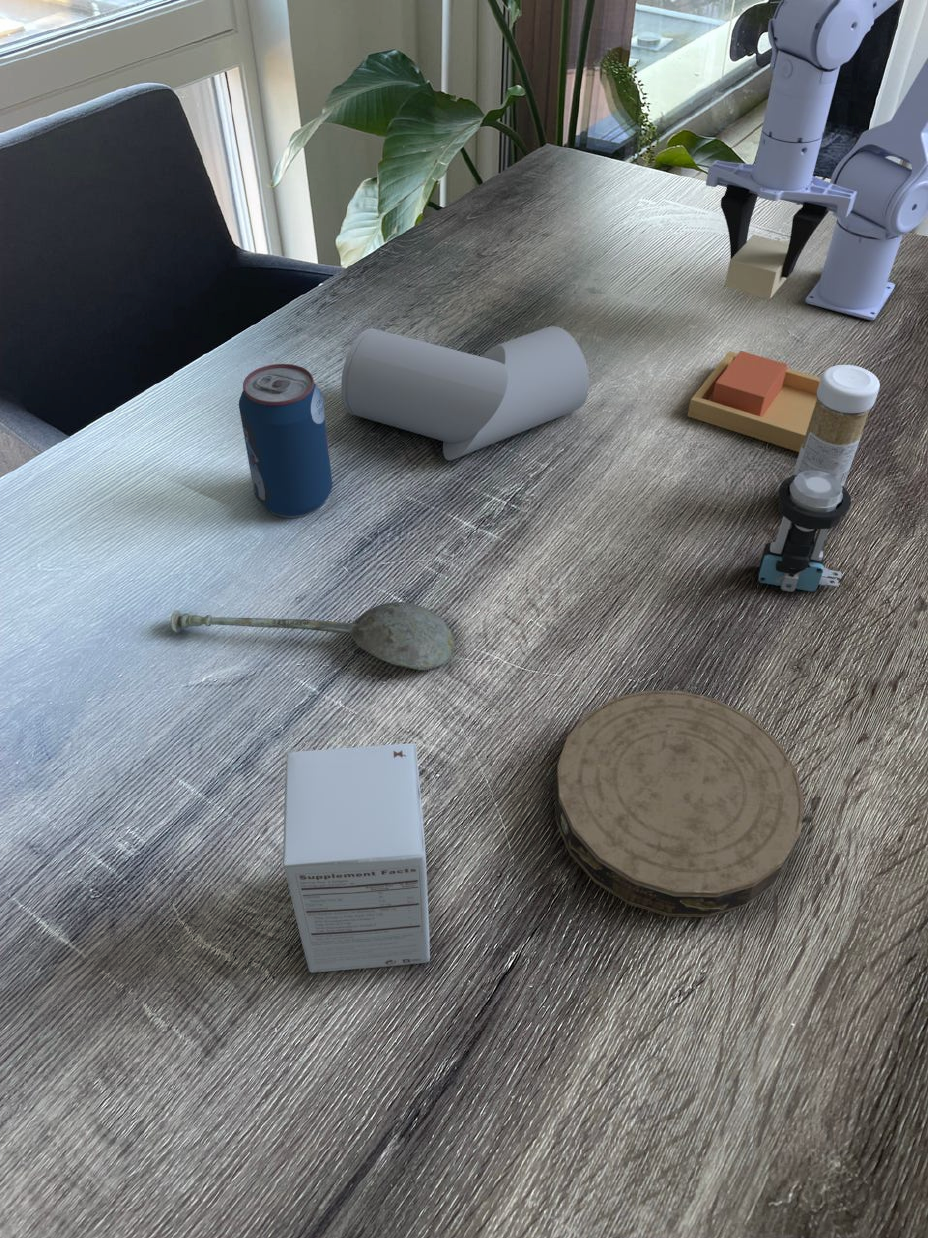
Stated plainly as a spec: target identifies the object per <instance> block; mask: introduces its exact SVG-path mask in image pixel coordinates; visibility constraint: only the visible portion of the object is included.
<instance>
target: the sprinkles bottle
mask: <svg viewBox="0 0 928 1238" xmlns="http://www.w3.org/2000/svg"><path fill="white" fill-rule="evenodd" d="M820 378H821V379H820V382H819V386H818V389H817V398H816V399H817V401H816V403H815V407H814V410H813V413H812V416H811V419H810V422H809V426H808V428H807V432H806V435H805V438H804V442H803V444H802V446H801V449H800V452H798V455H797V459H796V462H795V466H794V469H793V475H797V474H799V473H801V472H805V471H808V470H811V471H821V472H825V473H828V474H831V475H832V476H834V477H835V478H837V479H838V480H839V481H840V483H841V484H842V486H843V487H845V484H846V481H847V478H848V476H849V472H850V470H851V467H852V464H853V461H854V459H855V455H856V452H857V449H858V447H859V444H860V441H861V438H862V434H863V431H864V428H865V424H866V421H867V419H868V416H869V413H870V411H871V410H872V409H873V407H874V405H875V403H876V400H877V397H878V394H879V391H880V387H881V385H880V380H879V378H878V377H877V376H876V375H875V374H874V373H873V372H871V371H869V370H868V369H866V368H864V367H861V366H857V365H852V364H838V365H833V366H832V365H831V366H830V367H828V368H827V369H825V370H824V371H823V372H822V374H821V377H820Z"/></svg>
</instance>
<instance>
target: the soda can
mask: <svg viewBox="0 0 928 1238" xmlns="http://www.w3.org/2000/svg"><path fill="white" fill-rule="evenodd" d="M238 409H239V415H240V421H241V426H242V432H243V439H244V444H245V449H246V454H247V460H248V467H249V471H250V476H251V477H250V478H251V483H252V488H253V494H254V496H255V498H256V499H257V501H258V502H259V503H260V504H261V505H262V506H263V507H264V508H265V509H266V510H267V511H268V512H270V513H272V514H273V515H274V516H278V517H282V518H290V519H292V518H293V519H295V518H301V517H302V518H303V517H306V516H308V515H311V514H313V513H315V512H317V511H318V510H320V509H321V508H322V506H323V505H324V504H325V502H326V501H327V500H328V497H329V496H330V494H331V492H332V489H333V478H332V469H331V468H332V467H331V459H330V450H329V441H328V432H327V424H326V423H327V421H326V413H325V404H324V397H323V393H322V391H321V389H320V388H319V387H318V385H317V384H316V383H315V380H314V377H313V375H312V373H311V372H310V371H309V370H308V369H306V368H304V367H303V366H300V365H296V364H289V363H275V364H268V365H264V366H262V367H258V368H257V369H255V370H253V371H252V372H250V373H249V374H248V375H247V376H246V377H245V379H243V382H242V392H241V394H240V397H239V400H238Z"/></svg>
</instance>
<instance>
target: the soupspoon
mask: <svg viewBox="0 0 928 1238" xmlns="http://www.w3.org/2000/svg"><path fill="white" fill-rule="evenodd" d="M202 625H205V626H206V627H211V626H212V625H213V626H216V625H217V626H235V627H253V628H272V629H273V628H276V629H296V630H307V631H309V630H310V631H320V632H329V633H337V634H346V635H350V637H351V638H352V639H353V641H354V643H355V644H356V645H358V647H359V648H360V649H362V650H363V651H365V652H366V653H368V654H369V655H372V656H373V657H375V658H376V659H379V660H380V661H383V662H386V663H388V664H391V665H393V666H394V665H395V666H399V667H404V668H409V669H412V670H418V671H427V670H431V669H435V668H439V667H440V666H443V665H445V664H446V663H447V662H448V661H449V660H450V659H451V657H452V656H453V655H454V652H455V640H454V639H455V637H454V635H453V633H452V630H451V628H450V627H449V626H448V624H447V623H446V621H444V620H443V619H442V618H441V617H440V616H439V615H438V614H437V613H435V612H434V611H432V610H430V609H428V608H426V607H425V606H421V605H419V604H416V603H411V602H404V601H392V602H386V603H381V604H379V605H376V606H373V607H372V608H370V609H368V610H367V611H364V612H363V613H362V614H361V615H360V616H359V617H358V618H356V619H355V620H354V622H341V621H331V620H319V619H304V618H303V619H299V618H265V617H264V618H261V617H260V618H259V617H227V616H225V617H223V616H220V617H217V616H216V617H215V616H214V617H213V616H212V615H211V614H207V615H205V616H202V615H199V614H195V615H194V614H188V613H183V614H182V612H181V611H180V610H178V609H175V610H174V611H173V612H172V614H171V617H170V627H171V629H172V631H174V633H181V631H182V630H183V629H188V628H189V627H200V626H202Z"/></svg>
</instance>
